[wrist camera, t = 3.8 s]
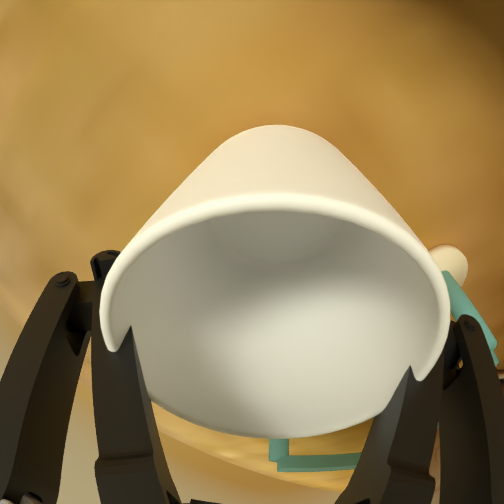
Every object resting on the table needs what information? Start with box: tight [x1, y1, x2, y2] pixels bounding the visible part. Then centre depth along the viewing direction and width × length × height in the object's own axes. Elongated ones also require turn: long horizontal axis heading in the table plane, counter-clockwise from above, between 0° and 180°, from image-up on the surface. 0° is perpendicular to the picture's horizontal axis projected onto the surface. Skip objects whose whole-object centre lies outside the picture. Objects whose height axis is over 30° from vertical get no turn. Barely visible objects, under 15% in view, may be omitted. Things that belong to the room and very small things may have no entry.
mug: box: [99, 125, 450, 439], centre depth 12 cm, size 9×12×11 cm
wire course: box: [269, 244, 499, 472], centre depth 18 cm, size 19×15×9 cm
